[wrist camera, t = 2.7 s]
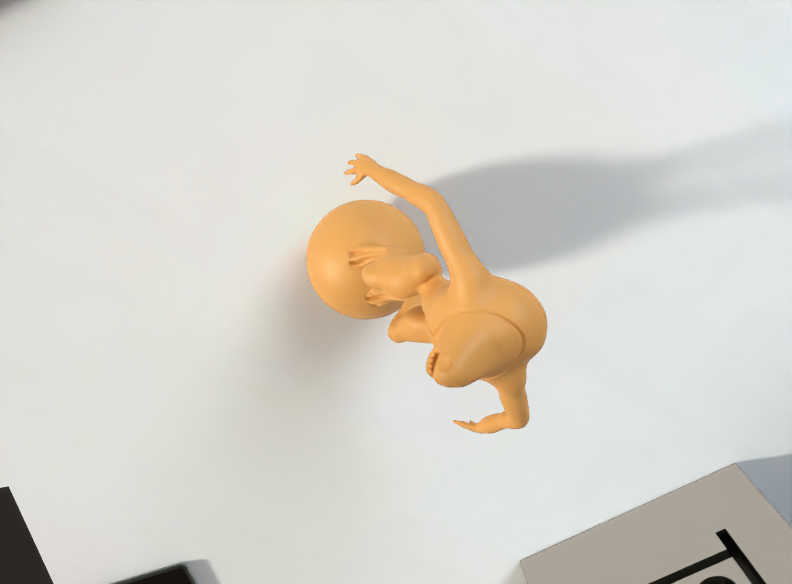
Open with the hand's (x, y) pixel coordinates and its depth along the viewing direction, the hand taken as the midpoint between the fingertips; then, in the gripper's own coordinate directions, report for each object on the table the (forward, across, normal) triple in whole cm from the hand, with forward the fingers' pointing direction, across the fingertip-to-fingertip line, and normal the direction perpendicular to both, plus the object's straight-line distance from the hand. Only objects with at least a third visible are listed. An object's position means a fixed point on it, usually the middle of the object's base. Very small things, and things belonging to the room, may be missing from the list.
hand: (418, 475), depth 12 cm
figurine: (+15, 0, 0) cm, 15 cm away
